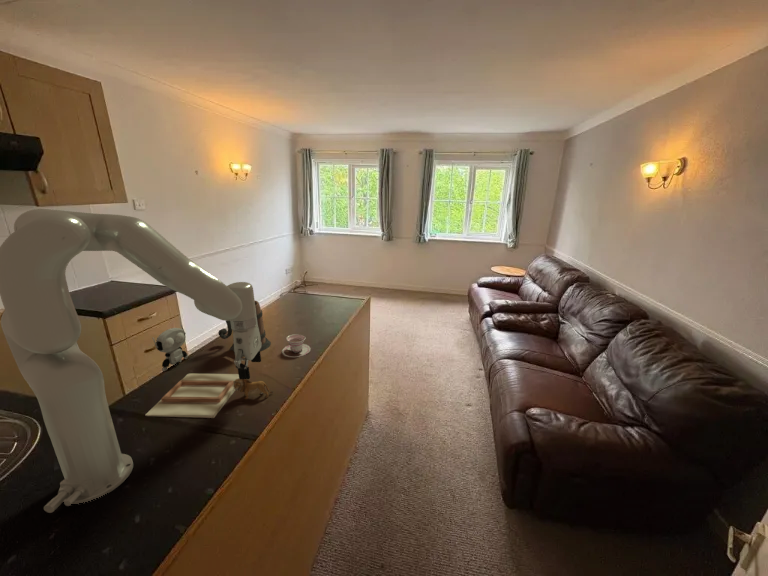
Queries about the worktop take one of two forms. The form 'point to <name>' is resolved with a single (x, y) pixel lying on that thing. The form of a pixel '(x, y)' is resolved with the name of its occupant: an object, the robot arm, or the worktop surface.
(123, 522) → the worktop surface
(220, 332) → the tankard
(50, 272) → the robot arm
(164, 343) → the robot toy
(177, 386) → the base plate
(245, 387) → the lion figurine
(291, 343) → the teacup
